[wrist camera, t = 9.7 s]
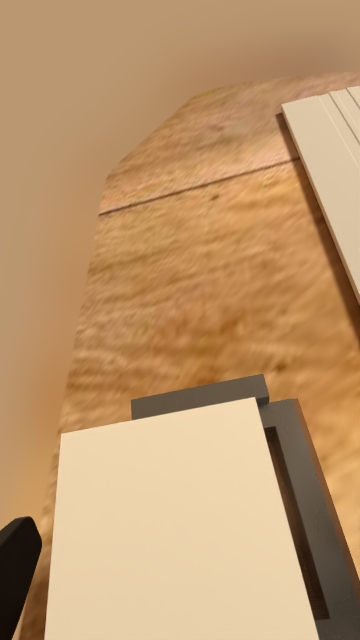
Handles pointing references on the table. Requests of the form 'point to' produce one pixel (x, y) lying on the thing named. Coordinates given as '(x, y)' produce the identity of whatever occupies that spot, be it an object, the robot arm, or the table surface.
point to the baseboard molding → (333, 165)
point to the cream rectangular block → (174, 533)
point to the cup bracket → (290, 497)
